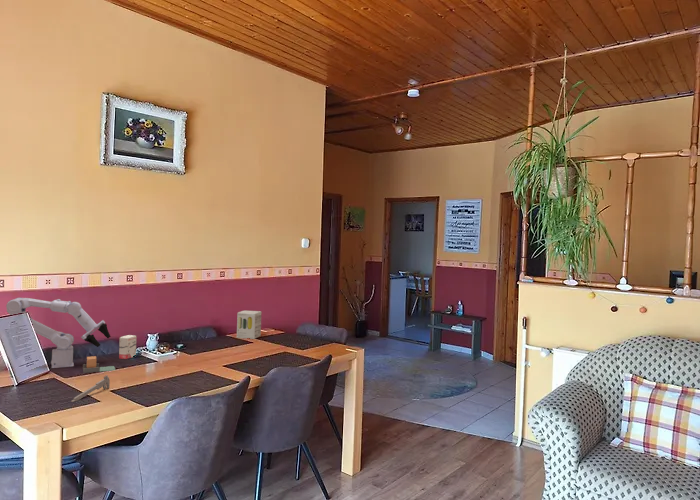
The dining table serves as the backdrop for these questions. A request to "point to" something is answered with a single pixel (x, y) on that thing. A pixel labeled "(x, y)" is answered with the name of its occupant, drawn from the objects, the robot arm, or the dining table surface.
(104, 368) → the pad
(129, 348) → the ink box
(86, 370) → the case
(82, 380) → the dining table surface
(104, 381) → the caliper
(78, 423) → the dining table surface
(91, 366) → the block
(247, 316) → the supplement box
